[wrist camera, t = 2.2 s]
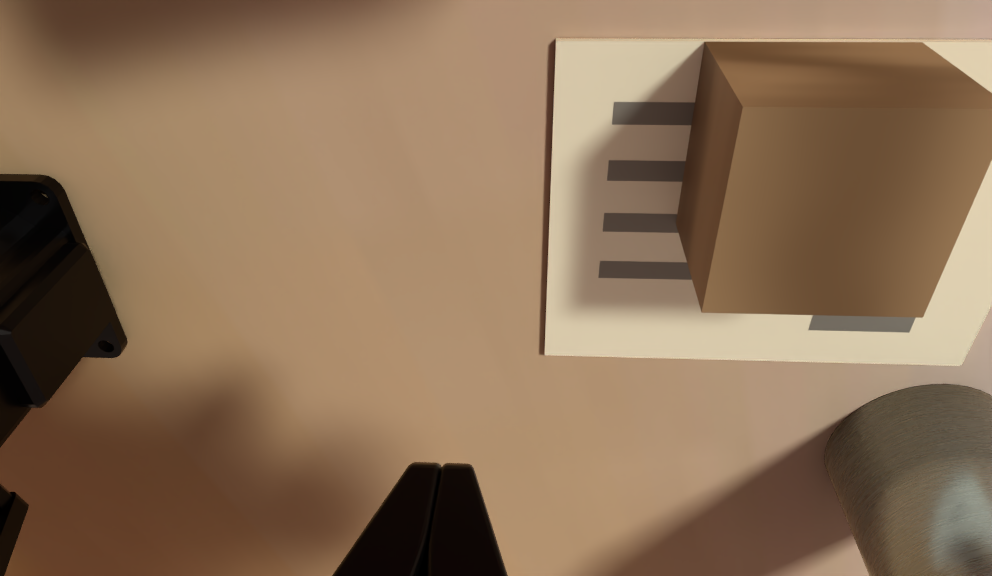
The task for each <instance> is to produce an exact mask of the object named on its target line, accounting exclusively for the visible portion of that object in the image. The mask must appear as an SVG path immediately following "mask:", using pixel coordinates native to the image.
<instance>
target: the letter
mask: <svg viewBox="0 0 992 576" xmlns="http://www.w3.org/2000/svg"><path fill="white" fill-rule="evenodd" d="M704 42H923V43H924V44H925V45H927V46H928V47H929V48H931V49H932V50H934V51H935V52H936V53H938V54H939V55H940V56H942V57H943V58H945V59H946V60H947V61H949V62H950V63H951V64H953V65H954V66H956V67H957V68H958V69H960V70H961V71H962V72H964V73H965V74H966V75H968V76H969V77H971V78H972V79H973V80H975V81H976V82H977V83H979V84H980V85H982V86H983V87H984V88H986V89H987V90H988V91H990V92H991V93H992V40H912V39H600V38H556V50H555V78H554V105H553V133H552V161H551V188H550V216H549V243H548V271H547V298H546V326H545V355H555V356H594V357H633V358H672V359H711V360H750V361H789V362H828V363H867V364H906V365H945V366H961V365H962V363H963V361H964V359H965V357H966V355H967V353H968V351H969V349H970V347H971V345H972V343H973V341H974V339H975V337H976V335H977V334H978V332H979V330H980V328H981V326H982V324H983V322H984V320H985V318H986V316H987V314H988V312H989V310H990V308H991V306H992V161H991V163H990V165H989V167H988V170H987V172H986V174H985V177H984V179H983V181H982V183H981V186H980V188H979V190H978V193H977V195H976V197H975V199H974V202H973V204H972V206H971V209H970V211H969V213H968V215H967V218H966V220H965V222H964V225H963V227H962V229H961V231H960V234H959V236H958V238H957V241H956V243H955V245H954V247H953V250H952V252H951V254H950V257H949V259H948V261H947V264H946V266H945V268H944V270H943V273H942V275H941V277H940V280H939V282H938V284H937V286H936V289H935V291H934V293H933V296H932V298H931V300H930V302H929V305H928V307H927V309H926V312H925V314H924V316H923V318H915V317H871V316H826V315H781V314H737V313H702V312H701V309H700V305H699V302H698V298H697V295H696V292H695V288H694V285H693V281H692V278H691V274H690V271H689V267H688V264H687V261H686V257H685V254H684V250H683V247H682V243H681V240H680V236H679V233H678V230H677V226H676V219H677V213H678V206H679V200H680V194H681V188H682V181H683V175H684V169H685V162H686V156H687V150H688V143H689V137H690V131H691V124H692V118H693V112H694V106H695V99H696V93H697V87H698V80H699V74H700V68H701V61H702V55H703V49H704Z"/></svg>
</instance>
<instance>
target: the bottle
mask: <svg viewBox="0 0 992 576" xmlns="http://www.w3.org/2000/svg"><path fill="white" fill-rule="evenodd" d="M825 466H826V469H827V472H828V474H829V477H830V479H831V482H832V484H833V487H834V489H835V491H836V494H837V496H838V499H839V501H840V504H841V506H842V509H843V511H844V514H845V516H846V519H847V521H848V524H849V526H850V529H851V531H852V534H853V536H854V539H855V541H856V544H857V546H858V549H859V551H860V554H861V556H862V558H863V561H864V563H865V566H866V568H867V571H868V573H869V576H992V396H991V395H990V394H987V393H985V392H983V391H981V390H978V389H975V388H971V387H967V386H961V385H951V384H932V385H923V386H917V387H911V388H907V389H903V390H899V391H896V392H893V393H890V394H887V395H885V396H882V397H880V398H878V399H875V400H873V401H871V402H869V403H868V404H866V405H864V406H862V407H861V408H859V409H858V410H856V411H855V412H854V413H852V414H851V415H850V416H848V417H847V418H846V419H845V420H844V421H843V422H842V423H841V424H840V425H839V426H838V427H837V428H836V430H835V431H834V433H833V434H832V436H831V437H830V439H829V441H828V443H827V447H826V450H825Z"/></svg>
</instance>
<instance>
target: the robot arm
mask: <svg viewBox="0 0 992 576" xmlns="http://www.w3.org/2000/svg"><path fill="white" fill-rule="evenodd" d="M39 190H41V191H43V192H44V193H46V194H47V196H48V197H49V198H47V197H45V196H44V195H42V194H41V192H40V191H39ZM107 341H108V342H107ZM109 342H110V343H111V344H110V343H109ZM126 345H127V338H126V336H125V333H124V331H123V329H122V326H121V324H120V321H119V319H118V317H117V314H116V311H115V309H114V306H113V304H112V302H111V299H110V297H109V294H108V292H107V290H106V287H105V285H104V283H103V280H102V278H101V275H100V273H99V271H98V268H97V266H96V263H95V261H94V259H93V256H92V254H91V251H90V250H89V247H88V245H87V243H86V240H85V238H84V235H83V233H82V231H81V228H80V226H79V223H78V221H77V219H76V216H75V214H74V211H73V209H72V207H71V204H70V202H69V200H68V197H67V195H66V192H65V190H64V189H63V187H62V186H61V184H60V183H58V182H57V181H56V180H55V179H53V178H51V177H49V176H45V175H29V174H0V447H1V446H2V445H3V443H4V442H5V441H6V440H7V438H8V437H9V436H10V435H11V433H12V432H13V431H14V430H15V428H16V427H17V426H18V425H19V423H20V422H21V421H22V420H23V418H24V417H25V416H26V415H27V413H28V412H29V411H30V409H31V408H32V407H33V408H42V407H43V406H44V405H45V404H46V403H47V402H48V401H49V400H50V398H51V397H52V396H53V394H54V393H55V392H56V391H57V389H58V388H59V387H60V385H61V384H62V383H63V382H64V380H65V379H66V378H67V376H68V375H69V374H70V373H71V371H72V370H73V369H74V367H75V366H76V365H77V364H78V362H79V361H80V360H81V358H82V357H96V358H114V357H118V356H119V355H120V354H121V353H122V352H123V350H124V349H125V347H126ZM28 506H29V505H28V504H27V503H26V502H25V501H24V500H23V499H22V498H21V497H20V496H19V495H17V494H16V493H15V492H9V491H8V490H6V489H5V488H4V487H3V486H2V485H1V484H0V576H4V575H5V572H6V569H7V566H8V563H9V561H10V558H11V555H12V552H13V549H14V547H15V544H16V541H17V538H18V535H19V533H20V530H21V527H22V524H23V521H24V518H25V516H26V513H27V510H28ZM332 576H508V575H507V572H506V569H505V566H504V563H503V560H502V556H501V553H500V550H499V547H498V544H497V541H496V537H495V534H494V531H493V528H492V525H491V522H490V518H489V515H488V512H487V509H486V506H485V503H484V500H483V496H482V493H481V490H480V487H479V484H478V481H477V477H476V474H475V471H474V468H473V467H472V465H470V464H459V463H446V464H444V465H443V466H442V467H441V465H440V464H438V463H427V462H414V463H412V464H410V465H409V466H408V468H407V469H406V470H405V472H404V473H403V475H402V476H401V477H400V479H399V480H398V482H397V483H396V485H395V486H394V488H393V489H392V490H391V492H390V493H389V495H388V496H387V498H386V499H385V500H384V502H383V503H382V505H381V506H380V508H379V509H378V511H377V512H376V513H375V515H374V516H373V518H372V519H371V521H370V522H369V524H368V525H367V526H366V528H365V529H364V531H363V532H362V534H361V535H360V537H359V538H358V539H357V541H356V542H355V544H354V545H353V547H352V548H351V549H350V551H349V552H348V554H347V555H346V557H345V558H344V560H343V561H342V562H341V564H340V565H339V567H338V568H337V570H336V571H335V573H334V574H333V575H332Z"/></svg>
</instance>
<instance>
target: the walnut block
mask: <svg viewBox="0 0 992 576" xmlns="http://www.w3.org/2000/svg"><path fill="white" fill-rule="evenodd" d="M991 161H992V93H991V92H990V91H988V90H987V89H986V88H984V87H983V86H982V85H980V84H979V83H977V82H976V81H975V80H973V79H972V78H971V77H969V76H968V75H966V74H965V73H964V72H962V71H961V70H960V69H958V68H957V67H956V66H954V65H953V64H951V63H950V62H949V61H947V60H946V59H945V58H943V57H942V56H940V55H939V54H938V53H936V52H935V51H934V50H932V49H931V48H929V47H928V46H927V45H925V44H924V43H923V42H704V49H703V55H702V61H701V68H700V74H699V80H698V87H697V93H696V99H695V106H694V112H693V118H692V124H691V131H690V137H689V143H688V150H687V156H686V162H685V169H684V175H683V181H682V188H681V194H680V200H679V206H678V213H677V219H676V226H677V230H678V233H679V236H680V240H681V243H682V247H683V250H684V254H685V257H686V261H687V264H688V267H689V271H690V274H691V278H692V281H693V285H694V288H695V292H696V295H697V298H698V302H699V305H700V309H701V312H702V313H737V314H781V315H826V316H871V317H915V318H923V316H924V314H925V312H926V309H927V307H928V305H929V302H930V300H931V298H932V296H933V293H934V291H935V289H936V286H937V284H938V282H939V280H940V277H941V275H942V273H943V270H944V268H945V266H946V264H947V261H948V259H949V257H950V254H951V252H952V250H953V247H954V245H955V243H956V241H957V238H958V236H959V234H960V231H961V229H962V227H963V225H964V222H965V220H966V218H967V215H968V213H969V211H970V209H971V206H972V204H973V202H974V199H975V197H976V195H977V193H978V190H979V188H980V186H981V183H982V181H983V179H984V177H985V174H986V172H987V170H988V167H989V165H990V163H991Z"/></svg>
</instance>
